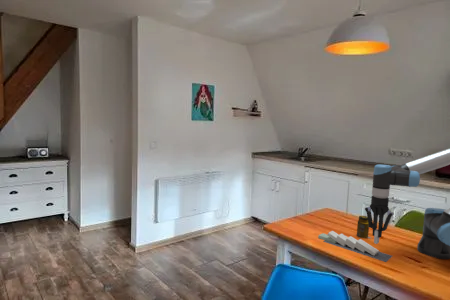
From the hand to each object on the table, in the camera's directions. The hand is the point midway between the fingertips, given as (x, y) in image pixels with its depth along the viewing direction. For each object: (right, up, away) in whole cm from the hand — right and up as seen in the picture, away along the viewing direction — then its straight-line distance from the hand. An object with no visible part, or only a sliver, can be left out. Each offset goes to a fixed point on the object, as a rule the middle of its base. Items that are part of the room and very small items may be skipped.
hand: (376, 242), depth 152 cm
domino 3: (-7, -4, +7) cm, 11 cm away
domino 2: (-10, -4, +11) cm, 16 cm away
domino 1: (-14, -3, +14) cm, 20 cm away
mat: (-7, -5, +7) cm, 11 cm away
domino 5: (0, -5, 0) cm, 5 cm away
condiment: (+3, -4, +24) cm, 25 cm away
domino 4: (-3, -5, +4) cm, 7 cm away
